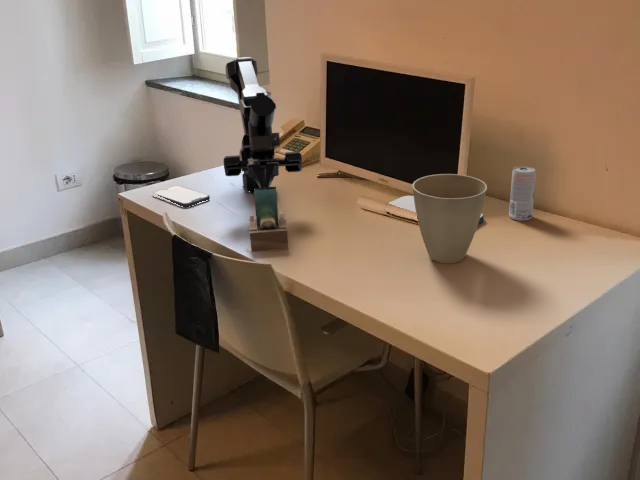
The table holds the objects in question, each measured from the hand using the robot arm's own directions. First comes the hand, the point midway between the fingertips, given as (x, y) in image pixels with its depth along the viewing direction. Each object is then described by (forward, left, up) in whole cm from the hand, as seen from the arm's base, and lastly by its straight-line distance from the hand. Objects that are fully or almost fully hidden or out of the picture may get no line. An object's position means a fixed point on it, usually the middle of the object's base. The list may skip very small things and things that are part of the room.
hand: (265, 195), depth 163 cm
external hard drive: (-35, +19, -8) cm, 41 cm away
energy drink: (-51, +32, -7) cm, 61 cm away
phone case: (+11, -31, -8) cm, 33 cm away
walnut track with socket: (+3, +7, -7) cm, 11 cm away
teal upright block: (+2, +4, -7) cm, 8 cm away
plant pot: (-22, +39, -7) cm, 46 cm away
